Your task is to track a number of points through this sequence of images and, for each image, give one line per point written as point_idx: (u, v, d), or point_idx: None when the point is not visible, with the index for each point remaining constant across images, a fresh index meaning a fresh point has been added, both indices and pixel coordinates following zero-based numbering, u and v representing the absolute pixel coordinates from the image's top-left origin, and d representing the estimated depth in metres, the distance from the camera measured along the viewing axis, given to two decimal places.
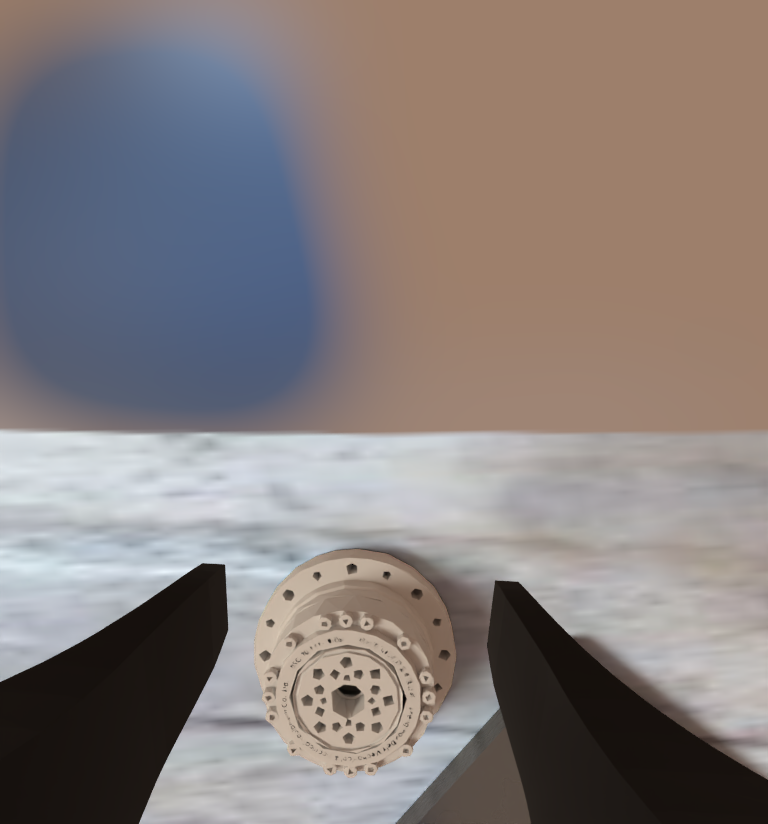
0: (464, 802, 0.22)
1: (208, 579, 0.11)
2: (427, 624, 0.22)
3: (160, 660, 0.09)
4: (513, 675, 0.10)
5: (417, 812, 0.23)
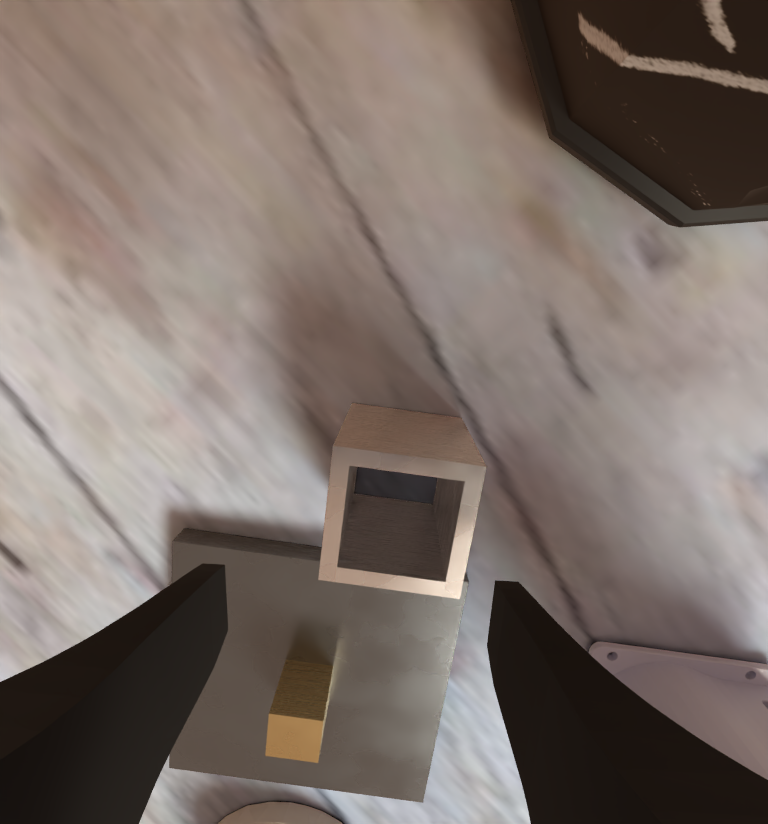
0: (343, 776, 0.24)
1: (208, 579, 0.11)
2: None
3: (160, 660, 0.09)
4: (513, 675, 0.10)
5: None
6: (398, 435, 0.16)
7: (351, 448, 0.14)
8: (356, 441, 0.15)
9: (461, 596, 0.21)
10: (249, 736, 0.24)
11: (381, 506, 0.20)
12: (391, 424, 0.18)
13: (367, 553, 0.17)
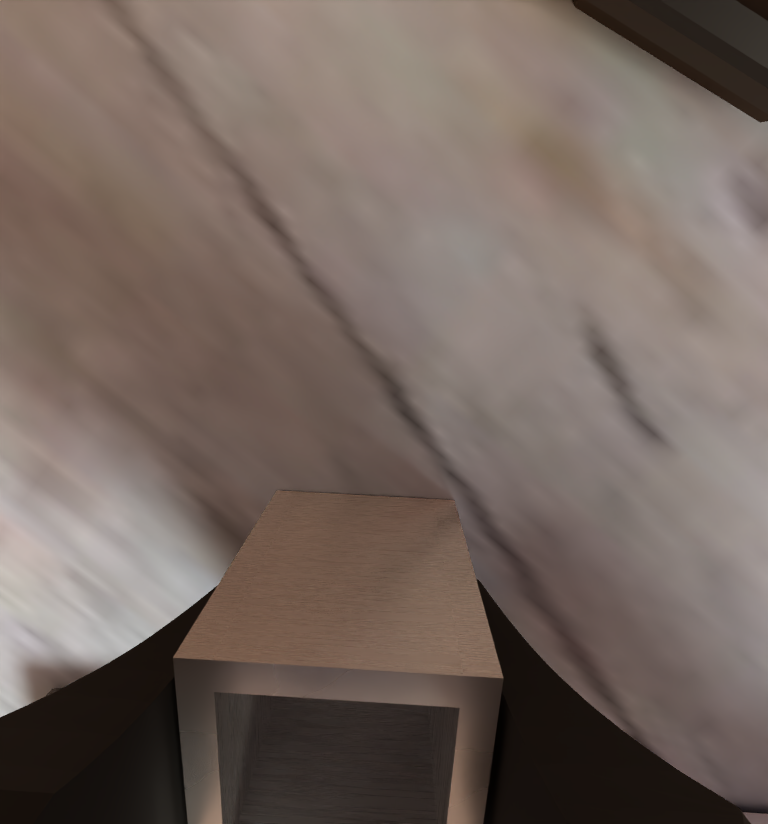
0: None
1: None
2: None
3: None
4: None
5: None
6: (331, 581, 0.09)
7: (213, 659, 0.07)
8: (236, 623, 0.08)
9: None
10: None
11: None
12: (327, 543, 0.10)
13: (294, 799, 0.09)
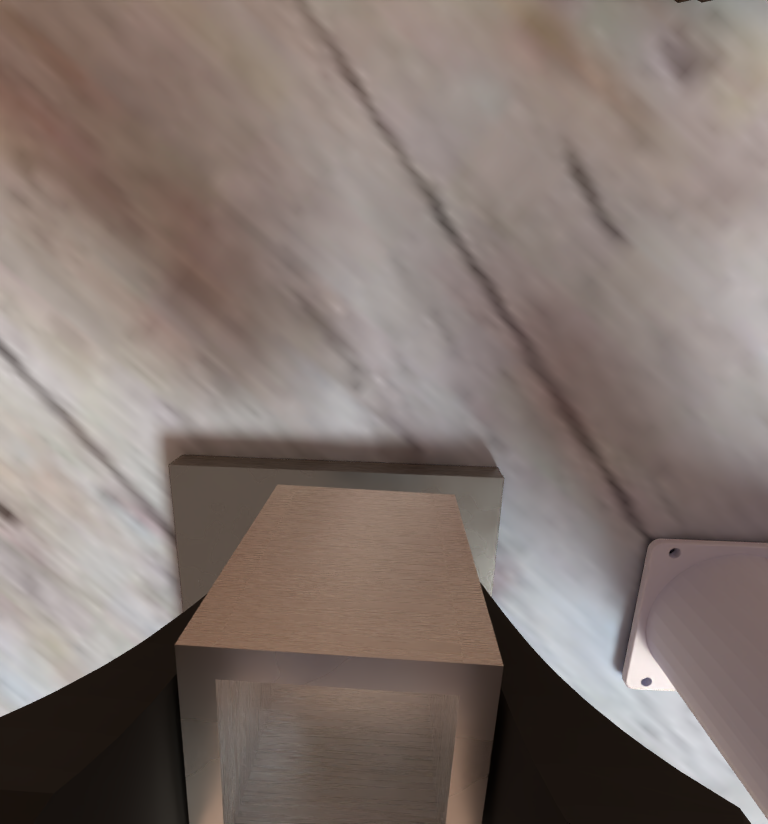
0: None
1: None
2: None
3: None
4: None
5: None
6: (332, 572, 0.09)
7: (215, 646, 0.07)
8: (237, 612, 0.08)
9: (497, 496, 0.19)
10: None
11: None
12: (328, 534, 0.10)
13: (295, 790, 0.09)
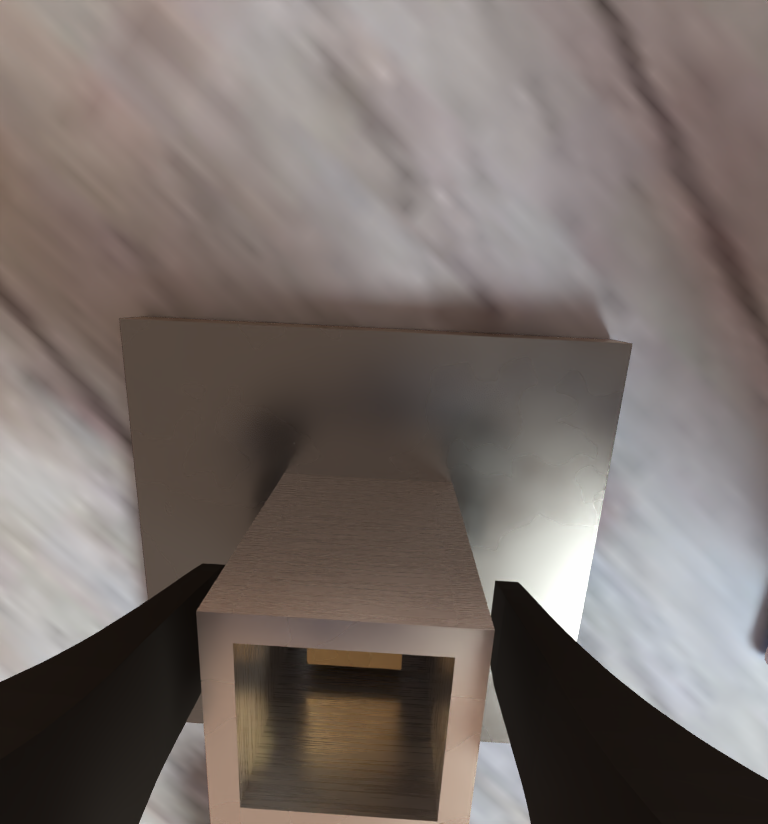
0: None
1: (208, 579, 0.11)
2: None
3: (160, 660, 0.09)
4: (513, 675, 0.10)
5: None
6: (338, 551, 0.09)
7: (232, 612, 0.07)
8: (251, 584, 0.08)
9: (619, 373, 0.12)
10: None
11: None
12: (333, 518, 0.11)
13: (303, 753, 0.10)
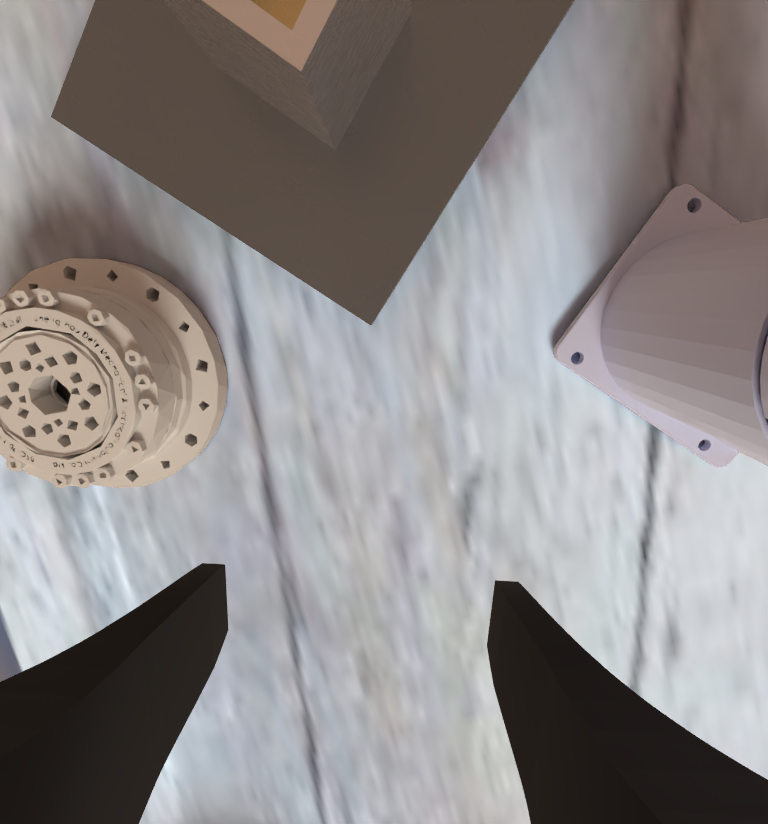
0: (287, 237, 0.17)
1: (208, 579, 0.11)
2: None
3: (160, 660, 0.09)
4: (513, 675, 0.10)
5: None
6: None
7: None
8: None
9: None
10: (188, 109, 0.16)
11: None
12: None
13: None
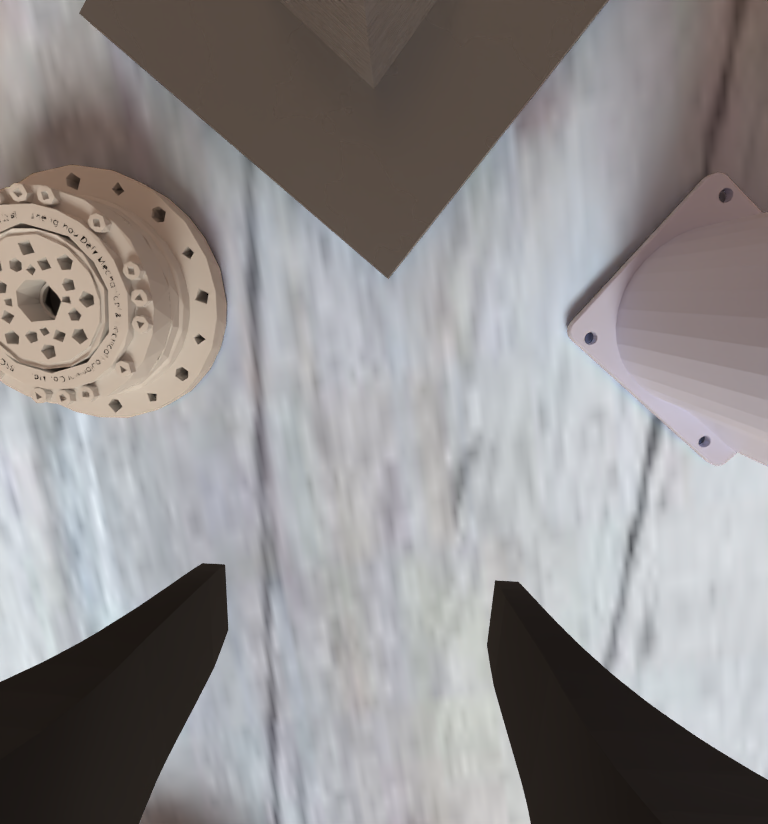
0: (313, 174, 0.17)
1: (208, 579, 0.11)
2: None
3: (160, 660, 0.09)
4: (513, 675, 0.10)
5: None
6: None
7: None
8: None
9: None
10: (226, 24, 0.16)
11: None
12: None
13: None
